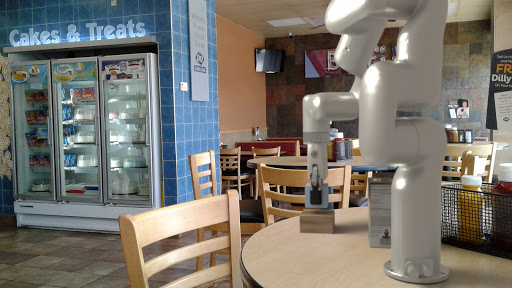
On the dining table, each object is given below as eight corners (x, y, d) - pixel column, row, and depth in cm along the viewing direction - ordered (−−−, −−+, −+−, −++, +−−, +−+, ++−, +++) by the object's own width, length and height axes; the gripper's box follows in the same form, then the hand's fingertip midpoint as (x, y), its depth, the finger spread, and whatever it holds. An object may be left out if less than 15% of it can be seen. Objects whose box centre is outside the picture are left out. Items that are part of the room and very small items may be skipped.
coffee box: (367, 237, 119) (367, 176, 118) (392, 238, 117) (392, 176, 116) (368, 247, 110) (368, 182, 109) (396, 248, 108) (396, 182, 107)
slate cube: (326, 208, 124) (326, 186, 124) (305, 207, 126) (304, 186, 125) (328, 203, 130) (328, 183, 130) (307, 203, 132) (307, 182, 131)
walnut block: (332, 234, 123) (332, 216, 123) (299, 233, 125) (299, 215, 125) (334, 226, 132) (334, 209, 131) (304, 225, 134) (303, 208, 133)
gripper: (327, 140, 117) (328, 209, 119) (332, 136, 134) (332, 196, 135) (298, 140, 119) (299, 208, 120) (307, 136, 136) (307, 196, 137)
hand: (317, 201), depth 128 cm, fingers closed on slate cube, 6 cm apart
